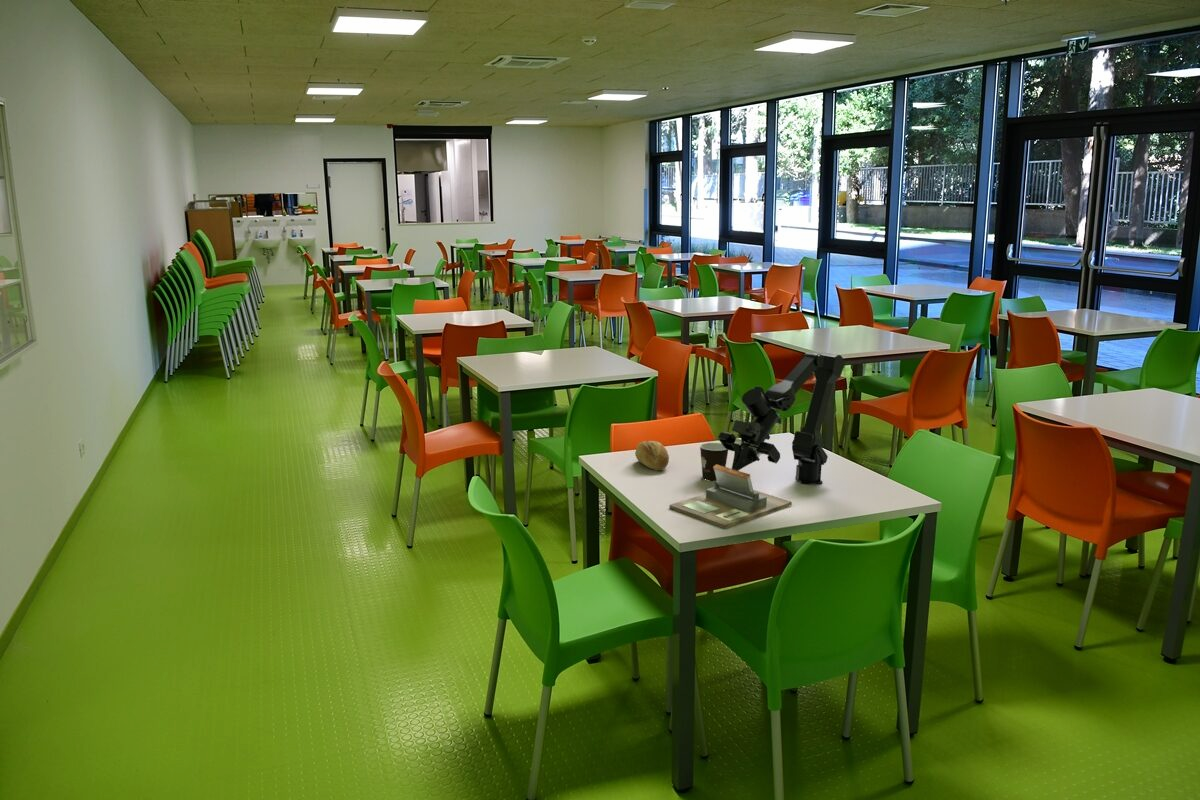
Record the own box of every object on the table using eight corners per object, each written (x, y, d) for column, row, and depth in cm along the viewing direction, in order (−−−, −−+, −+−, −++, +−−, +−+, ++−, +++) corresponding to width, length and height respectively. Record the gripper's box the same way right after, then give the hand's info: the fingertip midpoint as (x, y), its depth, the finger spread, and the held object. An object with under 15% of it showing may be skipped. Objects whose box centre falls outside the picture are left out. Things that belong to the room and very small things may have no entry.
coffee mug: (728, 482, 260) (729, 450, 258) (699, 482, 261) (700, 450, 259) (725, 471, 272) (726, 440, 270) (697, 470, 272) (698, 439, 270)
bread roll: (646, 474, 268) (647, 449, 267) (628, 461, 282) (629, 437, 280) (675, 471, 272) (675, 446, 270) (655, 458, 285) (656, 434, 284)
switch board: (736, 487, 256) (737, 470, 255) (791, 505, 241) (792, 487, 240) (669, 508, 238) (669, 490, 237) (724, 528, 224) (725, 509, 222)
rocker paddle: (720, 485, 245) (715, 463, 242) (756, 496, 236) (751, 474, 233) (717, 487, 245) (712, 466, 242) (752, 499, 235) (747, 477, 232)
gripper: (723, 403, 245) (694, 447, 240) (776, 415, 231) (747, 462, 226) (740, 426, 251) (712, 469, 247) (792, 439, 238) (764, 485, 233)
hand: (733, 471), depth 238 cm, fingers closed, pressing on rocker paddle
